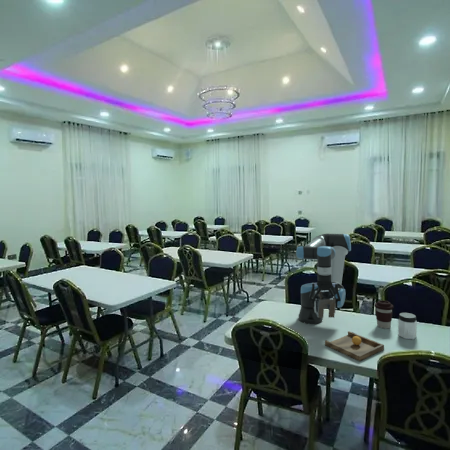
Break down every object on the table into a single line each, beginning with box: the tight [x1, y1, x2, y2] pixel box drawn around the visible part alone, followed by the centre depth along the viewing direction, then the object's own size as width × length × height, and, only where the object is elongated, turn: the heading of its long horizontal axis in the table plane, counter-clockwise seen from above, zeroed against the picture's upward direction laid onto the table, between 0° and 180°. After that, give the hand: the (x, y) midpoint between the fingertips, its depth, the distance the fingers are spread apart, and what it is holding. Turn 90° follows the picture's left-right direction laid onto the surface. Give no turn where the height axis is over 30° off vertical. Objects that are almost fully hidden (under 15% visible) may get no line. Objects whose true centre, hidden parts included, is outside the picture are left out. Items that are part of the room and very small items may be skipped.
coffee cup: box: [374, 300, 394, 330], centre depth 191 cm, size 10×10×15 cm
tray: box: [324, 330, 385, 362], centre depth 168 cm, size 21×20×2 cm
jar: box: [397, 312, 418, 340], centre depth 178 cm, size 9×8×12 cm
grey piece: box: [314, 290, 336, 319], centre depth 183 cm, size 9×9×12 cm
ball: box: [352, 336, 361, 345], centre depth 169 cm, size 5×5×5 cm
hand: (324, 312), depth 183 cm, fingers closed on grey piece, 10 cm apart
